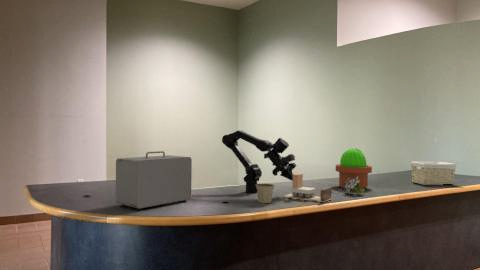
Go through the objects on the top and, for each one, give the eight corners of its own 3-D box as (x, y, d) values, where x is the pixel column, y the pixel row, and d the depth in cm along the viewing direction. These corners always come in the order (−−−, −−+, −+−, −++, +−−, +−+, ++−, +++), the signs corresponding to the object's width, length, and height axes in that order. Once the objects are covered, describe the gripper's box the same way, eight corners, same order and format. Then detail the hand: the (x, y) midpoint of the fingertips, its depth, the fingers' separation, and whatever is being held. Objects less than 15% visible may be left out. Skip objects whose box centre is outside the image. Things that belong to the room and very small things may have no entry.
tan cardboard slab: (282, 197, 197) (282, 185, 197) (291, 195, 205) (291, 183, 205) (324, 203, 184) (324, 189, 184) (331, 200, 193) (331, 187, 192)
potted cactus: (334, 188, 230) (335, 148, 229) (336, 183, 251) (336, 146, 250) (372, 190, 223) (373, 149, 223) (370, 185, 244) (371, 147, 244)
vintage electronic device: (167, 196, 196) (167, 149, 196) (191, 201, 185) (191, 151, 184) (113, 206, 172) (113, 151, 171) (136, 212, 160) (137, 153, 160)
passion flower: (347, 203, 211) (339, 184, 218) (365, 199, 213) (356, 181, 219) (353, 195, 202) (344, 175, 208) (371, 191, 204) (362, 172, 210)
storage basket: (441, 182, 266) (441, 161, 265) (457, 185, 249) (457, 163, 249) (409, 182, 263) (409, 161, 262) (423, 185, 247) (423, 163, 246)
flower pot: (274, 204, 179) (275, 186, 179) (255, 204, 180) (255, 186, 180) (274, 200, 189) (274, 183, 189) (255, 200, 189) (255, 183, 189)
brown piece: (291, 196, 195) (291, 174, 195) (298, 193, 202) (298, 173, 202) (309, 198, 190) (309, 176, 189) (315, 195, 196) (315, 174, 196)
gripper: (277, 149, 193) (297, 172, 188) (293, 148, 209) (311, 169, 203) (264, 164, 198) (282, 186, 192) (280, 161, 213) (298, 182, 208)
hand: (294, 180), depth 199 cm, fingers closed, pressing on brown piece
